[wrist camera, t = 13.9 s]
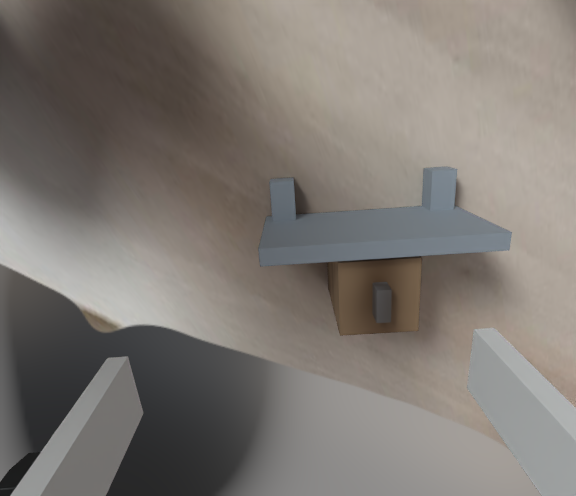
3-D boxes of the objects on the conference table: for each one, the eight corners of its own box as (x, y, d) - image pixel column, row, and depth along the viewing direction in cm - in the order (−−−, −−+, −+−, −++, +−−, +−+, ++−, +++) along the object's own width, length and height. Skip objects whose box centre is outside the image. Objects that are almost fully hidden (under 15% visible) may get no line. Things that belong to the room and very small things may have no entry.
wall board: (267, 229, 40) (260, 266, 29) (263, 179, 38) (253, 199, 28) (450, 217, 39) (509, 250, 29) (454, 166, 38) (518, 181, 27)
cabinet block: (328, 290, 42) (342, 347, 31) (326, 230, 40) (340, 270, 29) (388, 286, 42) (424, 342, 31) (390, 226, 40) (428, 264, 29)
